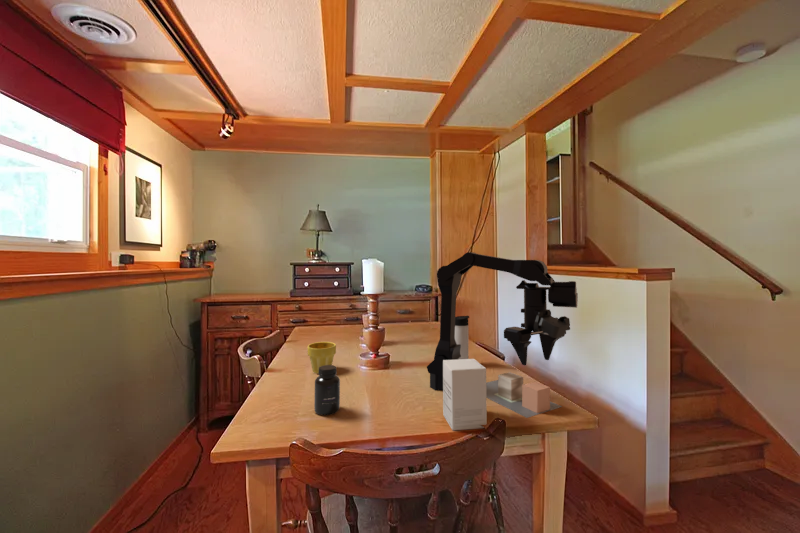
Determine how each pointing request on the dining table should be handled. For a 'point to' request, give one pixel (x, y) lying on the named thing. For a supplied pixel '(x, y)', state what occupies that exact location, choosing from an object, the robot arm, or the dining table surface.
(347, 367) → the dining table surface
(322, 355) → the plant pot
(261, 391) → the dining table surface
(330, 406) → the supplement bottle
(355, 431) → the dining table surface
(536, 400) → the terracotta block
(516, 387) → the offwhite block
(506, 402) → the build board
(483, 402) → the supplement box
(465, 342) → the travel mug
